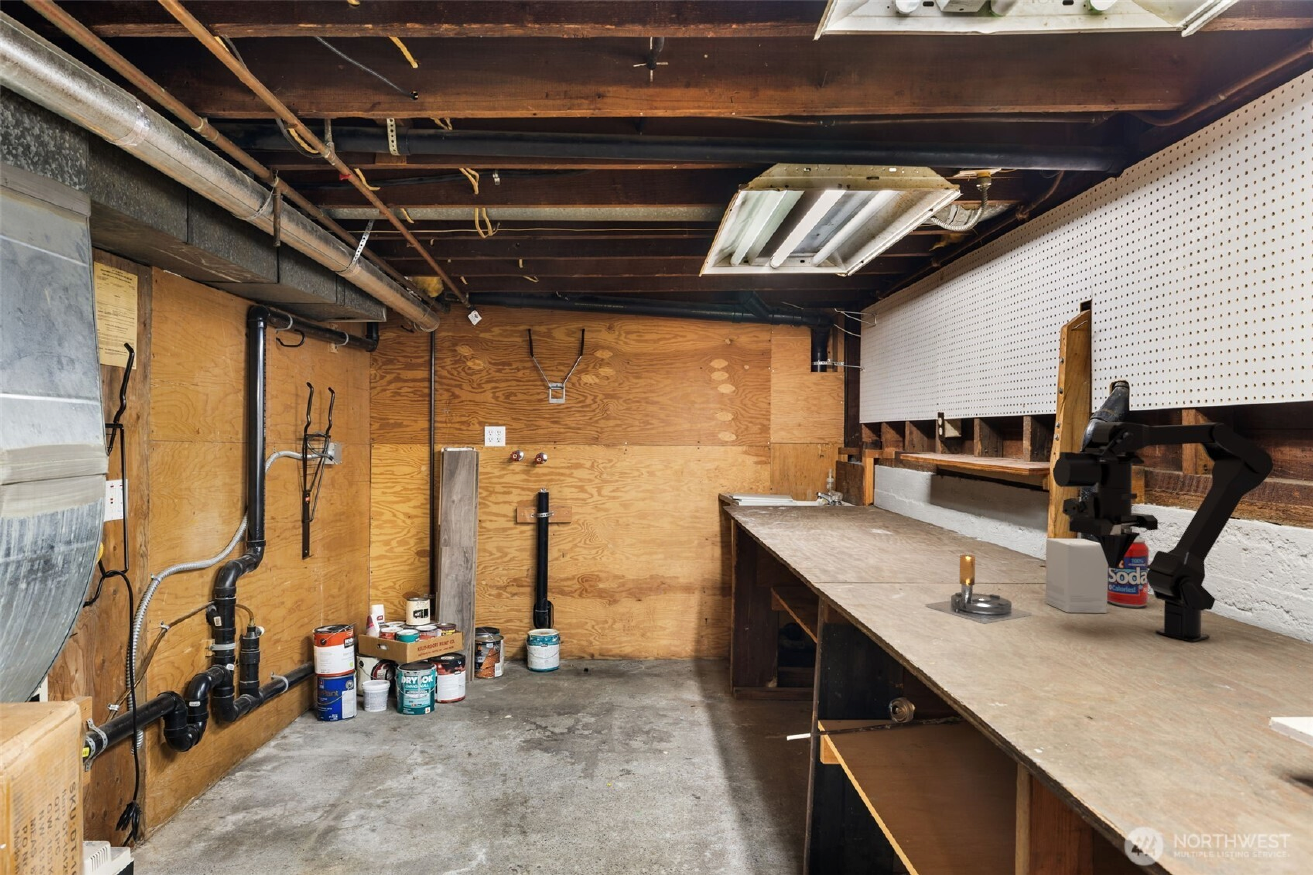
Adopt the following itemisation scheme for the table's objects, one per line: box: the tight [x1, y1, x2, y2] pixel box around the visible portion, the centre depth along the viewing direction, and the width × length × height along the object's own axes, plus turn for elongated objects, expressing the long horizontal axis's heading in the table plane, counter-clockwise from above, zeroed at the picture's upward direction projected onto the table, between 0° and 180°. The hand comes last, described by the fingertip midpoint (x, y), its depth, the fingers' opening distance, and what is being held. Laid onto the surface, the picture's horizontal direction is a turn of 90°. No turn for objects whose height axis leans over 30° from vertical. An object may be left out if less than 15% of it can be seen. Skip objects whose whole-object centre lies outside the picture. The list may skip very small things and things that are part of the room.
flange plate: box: [924, 599, 1033, 624], centre depth 152 cm, size 15×15×3 cm
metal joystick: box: [950, 554, 1013, 614], centre depth 152 cm, size 12×12×12 cm
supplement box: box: [1045, 537, 1108, 614], centre depth 155 cm, size 9×9×15 cm
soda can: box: [1107, 537, 1150, 609], centre depth 159 cm, size 8×8×15 cm
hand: (1113, 568), depth 135 cm, fingers closed
